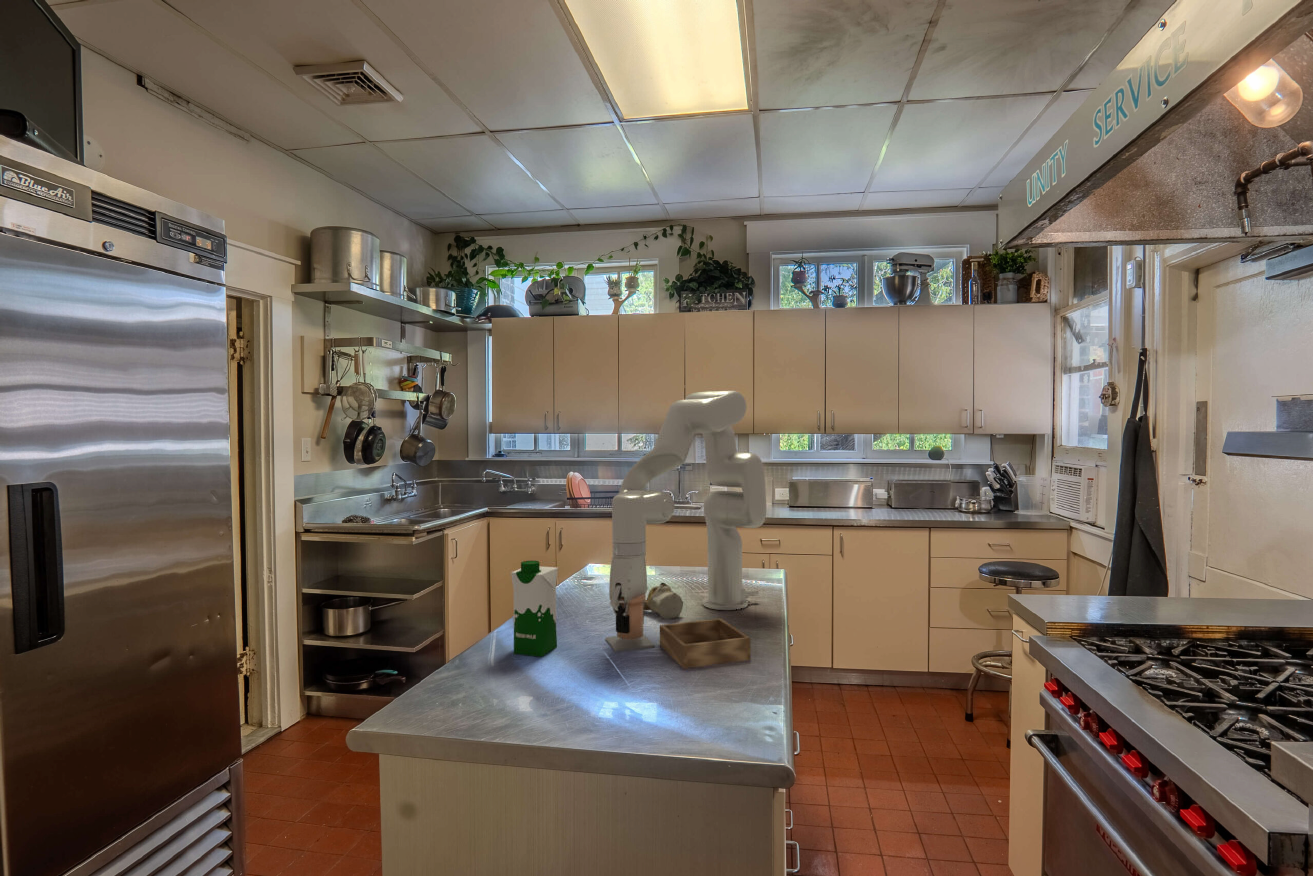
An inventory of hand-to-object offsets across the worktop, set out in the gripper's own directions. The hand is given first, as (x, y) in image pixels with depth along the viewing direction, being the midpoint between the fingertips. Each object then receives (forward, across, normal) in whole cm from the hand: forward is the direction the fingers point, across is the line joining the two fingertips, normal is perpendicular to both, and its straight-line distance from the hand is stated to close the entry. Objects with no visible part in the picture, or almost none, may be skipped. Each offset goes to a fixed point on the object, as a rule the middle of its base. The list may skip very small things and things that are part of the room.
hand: (630, 627), depth 147 cm
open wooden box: (+4, -2, +17) cm, 18 cm away
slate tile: (+4, 0, 0) cm, 4 cm away
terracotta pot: (+2, 0, 0) cm, 2 cm away
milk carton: (+4, +12, -17) cm, 21 cm away
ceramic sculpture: (+5, -26, -5) cm, 27 cm away
